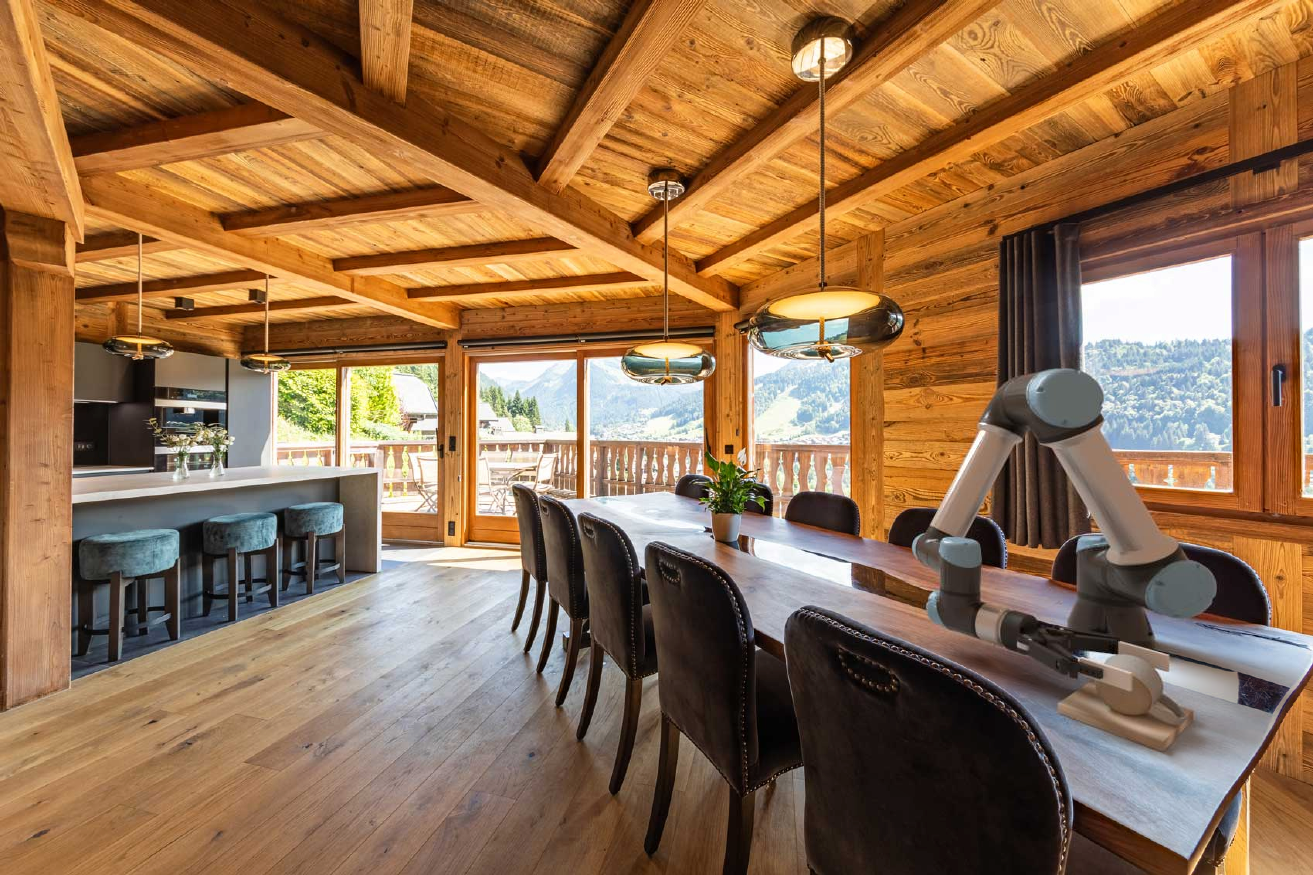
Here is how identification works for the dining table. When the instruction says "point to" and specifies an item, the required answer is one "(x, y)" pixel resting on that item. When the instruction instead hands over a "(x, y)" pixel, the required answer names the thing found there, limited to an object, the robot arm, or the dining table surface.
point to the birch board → (1122, 719)
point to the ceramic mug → (1139, 691)
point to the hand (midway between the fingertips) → (1150, 672)
